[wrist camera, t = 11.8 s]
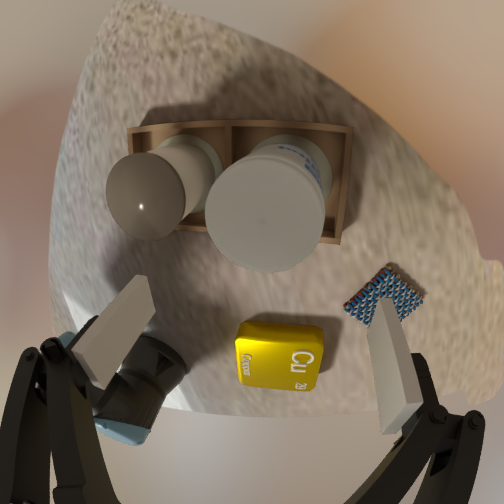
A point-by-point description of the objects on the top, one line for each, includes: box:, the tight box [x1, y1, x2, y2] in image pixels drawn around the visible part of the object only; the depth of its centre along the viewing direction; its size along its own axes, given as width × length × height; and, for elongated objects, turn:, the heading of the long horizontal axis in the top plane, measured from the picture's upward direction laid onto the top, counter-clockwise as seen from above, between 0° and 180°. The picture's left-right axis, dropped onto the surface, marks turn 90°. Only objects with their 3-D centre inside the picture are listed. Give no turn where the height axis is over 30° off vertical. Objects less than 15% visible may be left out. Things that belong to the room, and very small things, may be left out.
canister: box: [106, 142, 215, 241], centre depth 30 cm, size 9×9×11 cm
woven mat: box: [343, 266, 423, 329], centre depth 39 cm, size 10×11×2 cm
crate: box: [127, 119, 354, 245], centre depth 33 cm, size 28×15×3 cm, turn 90°
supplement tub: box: [205, 143, 325, 272], centre depth 27 cm, size 10×10×15 cm
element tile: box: [234, 321, 324, 391], centre depth 47 cm, size 15×15×5 cm
